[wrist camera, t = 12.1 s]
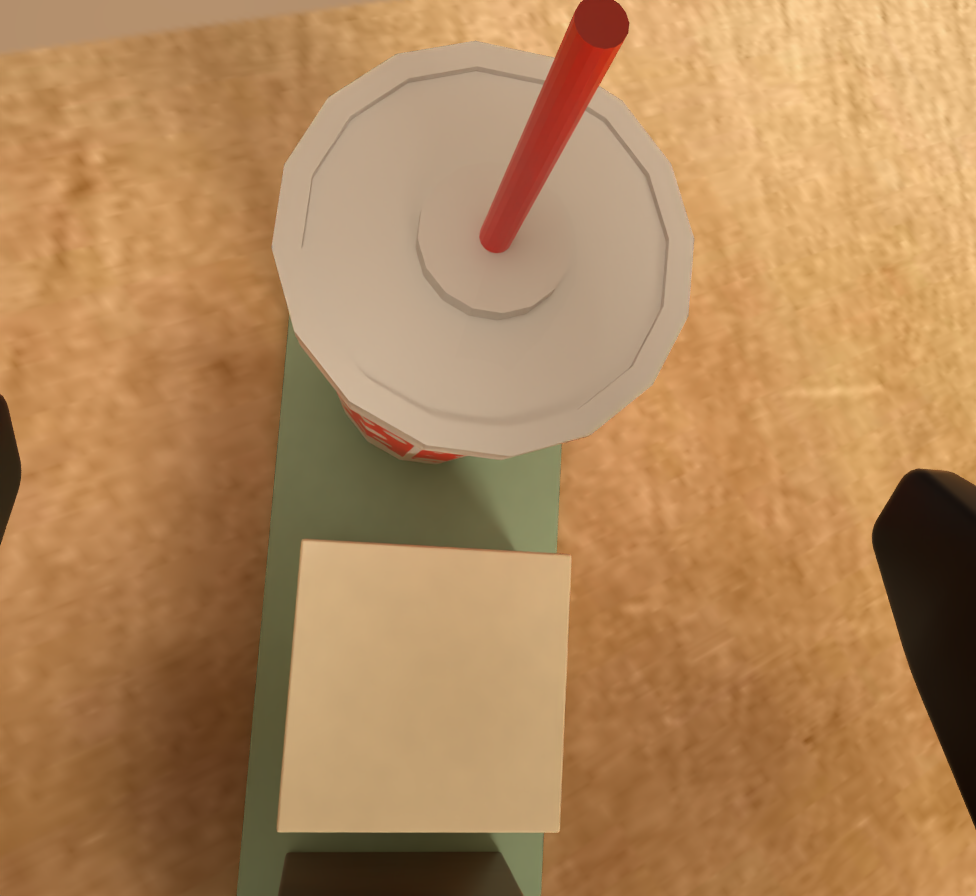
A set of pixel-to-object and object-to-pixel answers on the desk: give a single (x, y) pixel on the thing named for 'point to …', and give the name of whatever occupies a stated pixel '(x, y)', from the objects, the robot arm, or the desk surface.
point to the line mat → (376, 519)
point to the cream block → (425, 690)
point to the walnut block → (397, 874)
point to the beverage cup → (484, 246)
